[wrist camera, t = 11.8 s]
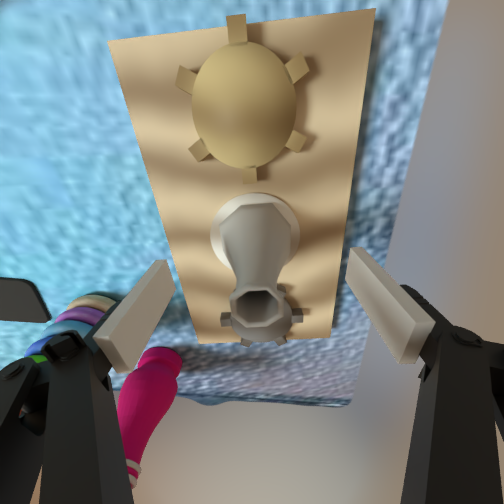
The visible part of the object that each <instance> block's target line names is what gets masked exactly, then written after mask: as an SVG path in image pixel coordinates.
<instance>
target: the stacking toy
mask: <svg viewBox="0 0 504 504" xmlns="http://www.w3.org/2000/svg"><path fill="white" fill-rule="evenodd" d="M115 303H116V301H114V300H112V299H110V298H107V297H104V296H100V295H85V296H81V297H79V298H77V299H75V300H73V301H72V302H71V303H70V304H69V306H68V307H67V309H66V311H65V312H63V313H62V314H60V315H59V316H58V317H57V319H56V320H55V323H54V324H52V325H50V326H49V327H47V328H46V329H45V330H44V331H43V333H42V334H41V337H40V340H38V341H36V342H35V343H33V344H32V345H31V346H30V347H29V348H28V349H27V351H26V353H25V356H24V358H25V357H32V358H33V359H34V360H35V361H36V362H37V363H39V362H43V361H46V360H47V358H46V357H45V356H44V355H43V354H42V353H41V352H40V350H41V348H42V346H43V345H44V344H45V343H46V342H47V341H48V340H50V339H51V338H52V337H54V336H56V335H57V334H59V333H61V332H64V331H67V330H76V331H78V333H79V334H80V336H81V337H82V338H84V337H85V336H86V335H87V333H88V332H89V331H90V330H91V329H92V328H93V327H94V325H95V324H96V323H97V322H98V321H100V318H101V317H102V316H103V315H105V313H106V312H107V310H108V309H109V308H110V307H111V306H112V305H114V304H115ZM21 411H22V410H21ZM21 411H20V413H21ZM19 416H20V414H19Z"/></svg>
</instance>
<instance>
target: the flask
mask: <svg viewBox="0 0 504 504" xmlns="http://www.w3.org/2000/svg"><path fill="white" fill-rule="evenodd" d="M219 229H220V235H221V241H222V247H223V252H224V254H225V256H226V258H227V260H228V261H229V263H230V265H231V267H232V270H233V272H234V274H235V276H236V279H237V281H236V290H235V291H234V292H233V293H232V294H231V295H230V296H229V302H230V308H231V314H232V317H234V318H235V319H236V320H237V321H239V322H240V323H241V324H242V325H244V326H245V327H246V328H248V327H267V326H269V325H270V324H272V323H274V322H275V321H277V320H279V319H280V318H282V317H284V300H283V296H282V294H281V293H279V292H278V291H277V280H278V277H279V274H280V272H281V270H282V268H283V265H284V263H285V261H286V260H287V258H288V256H289V254H290V252H291V225H290V224H289V223H288V221H287V220H286V219H285V218H284V217H283V215H282V214H281V213H280V212H279V211H278V209H277V208H276V207H275V206H274V205H273V203H264V204H251V205H240V206H239V207H238V208H237V209H236V210H235V211H234V212H233V213H232V214H230V215H229V216H228V217H227V218H226V219H225V220H224V221H223V222H221V223H220V224H219Z"/></svg>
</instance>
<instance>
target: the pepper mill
mask: <svg viewBox="0 0 504 504" xmlns="http://www.w3.org/2000/svg"><path fill="white" fill-rule="evenodd" d="M181 366H182V359H181V357H180V356H179V355H178V354H177V353H176V352H175V351H173V350H171V349H168V348H163V347H154V348H150V349H148V350H146V351H145V352H144V353H143V355H142V357H141V359H140V361H139V363H138V369H136V370H134V371H133V372H132V373H130V374H129V375H128V376H127V378H126V380H125V382H124V384H123V386H122V388H121V391H120V395H119V400H118V409H117V416H118V421H119V426H120V431H121V437H122V442H123V447H124V453H125V458H126V463H127V469H128V474H129V479H130V484H131V490H132V489H133V488H135V487H136V485H137V478H138V476H139V474H140V473H141V467H140V465H139V464H140V461H141V458H142V455H143V451H144V449H145V447H146V445H147V442H148V440H149V438H150V436H151V434H152V432H153V431H154V429H155V427H156V426H157V424H158V423H159V421H160V420H161V419H162V418H163V416H164V415H165V413H166V412H167V411H168V409H169V408H170V406H171V404H172V402H173V400H174V397H175V395H176V393H177V388H178V386H177V381H176V378H177V377H178V375H179V373H180V369H181Z"/></svg>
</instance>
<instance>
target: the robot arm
mask: <svg viewBox="0 0 504 504" xmlns="http://www.w3.org/2000/svg"><path fill="white" fill-rule="evenodd" d="M345 280H346V282H347V284H348V285H349V287H350V288H351V290H352V292H353V293H354V295H355V296H356V298H357V299H358V301H359V303H360V304H361V306H362V307H363V309H364V310H365V312H366V314H367V315H368V317H369V318H370V320H371V321H372V323H373V324H374V326H375V328H376V329H377V331H378V333H379V334H380V336H381V337H382V339H383V340H384V342H385V343H386V345H387V347H388V348H389V350H390V351H391V353H392V354H393V356H394V358H395V359H396V361H397V363H398V364H415V363H416V361H417V359H418V357H419V355H420V357H421V358H422V359H423V361H424V362H425V365H424V367H423V369H422V371H421V372H420V374H419V376H418V378H421V383H420V389H419V395H418V401H417V407H416V413H415V419H414V425H413V431H412V437H411V443H410V449H409V456H408V461H407V467H406V473H405V479H404V486H403V491H402V497H401V503H400V504H503V497H502V487H501V477H500V467H499V457H498V447H497V437H496V428H495V421H496V424H497V426H498V429H499V431H500V434H501V436H502V439H503V441H504V344H499V343H494V342H489V341H484V340H482V338H481V337H480V336H478V335H476V334H475V333H473V332H472V331H470V330H467V329H465V328H462V327H458V326H453V325H452V324H451V323H450V322H449V321H448V320H447V319H446V318H445V317H444V316H443V315H442V314H441V313H439V312H438V311H437V310H436V309H435V308H434V307H433V306H432V305H431V304H429V302H428V301H427V300H426V299H424V298H423V296H421V295H420V294H419V293H418V292H417V291H416V290H415V289H413V288H411V287H409V286H407V285H399V284H398V283H397V282H396V281H395V280H394V279H393V278H392V277H391V276H390V275H389V274H388V273H387V272H386V271H385V270H384V269H383V268H382V267H381V266H380V265H379V264H378V263H377V262H376V261H375V260H374V259H373V258H372V257H371V256H370V255H369V254H368V253H367V252H366V251H365V250H364V249H363V248H362V247H352V248H350V253H349V259H348V265H347V271H346V277H345ZM175 290H176V287H175V284H174V281H173V278H172V275H171V272H170V269H169V266H168V263H167V260H166V259H165V260H156V261H155V262H154V263H153V264H152V265H151V267H150V268H149V269H148V270H147V272H146V273H145V274H144V275H143V276H142V278H141V279H140V280H139V281H138V282H137V284H136V285H135V286H134V287H133V288H132V290H131V291H130V292H129V293H128V295H127V296H126V297H125V298H124V299H123V300H119V301H118V302H116V303H115V304H114V305H112V306H111V307H110V308H109V309H108V310H107V312H106V313H105V315H103V316H102V317H101V318H100V321H98V322H97V323H96V324H95V325H94V327H93V328H92V329H91V330H90V331H89V332H88V333H87V335H86V336H85V337H84V338H82V337H81V336H80V334H79V333H78V331H76V330H67V331H64V332H61V333H59V334H57V335H56V336H54V337H52V338H51V339H50V340H48V341H47V342H46V343H45V344H44V345H43V346H42V348H41V350H40V352H41V353H42V354H43V355H44V356H45V357H46V358H47V360H46V361H43V362H39V363H37V362H36V361H35V360H34V359H33V358H32V357H25V358H21V359H19V360H16V361H14V362H12V363H10V364H9V365H7V366H6V367H4V368H3V369H2V370H1V371H0V504H30V501H31V498H32V494H33V491H34V488H35V485H36V482H37V479H38V476H39V473H40V469H41V466H42V476H41V487H40V499H39V504H134V501H133V495H132V490H131V484H130V479H129V474H128V469H127V463H126V458H125V453H124V447H123V442H122V437H121V431H120V426H119V421H118V416H117V410H116V405H115V400H114V395H113V389H112V384H111V378H110V376H109V375H108V372H109V371H110V369H111V368H112V367H113V368H114V370H115V371H116V373H132V371H133V369H134V367H135V365H136V363H137V362H138V360H139V358H140V356H141V354H142V352H143V350H144V348H145V347H146V345H147V343H148V341H149V339H150V337H151V335H152V333H153V332H154V330H155V328H156V326H157V324H158V322H159V320H160V318H161V317H162V315H163V313H164V311H165V309H166V307H167V305H168V303H169V301H170V300H171V298H172V296H173V294H174V292H175ZM21 410H22V411H21ZM20 411H21V413H20ZM19 414H20V416H19Z"/></svg>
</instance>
